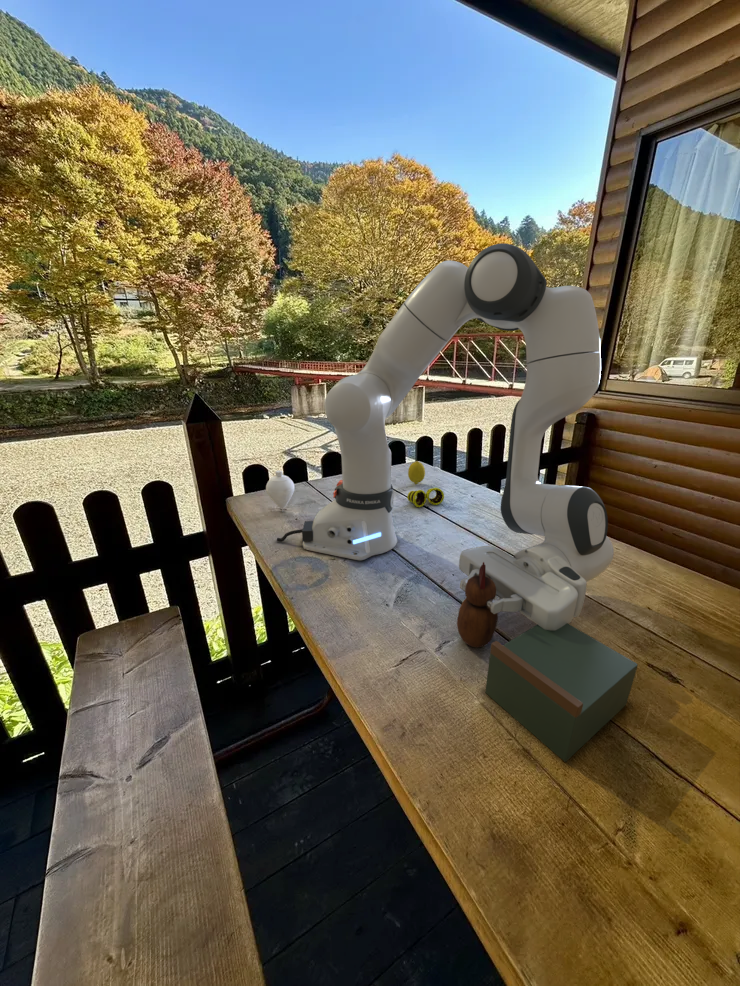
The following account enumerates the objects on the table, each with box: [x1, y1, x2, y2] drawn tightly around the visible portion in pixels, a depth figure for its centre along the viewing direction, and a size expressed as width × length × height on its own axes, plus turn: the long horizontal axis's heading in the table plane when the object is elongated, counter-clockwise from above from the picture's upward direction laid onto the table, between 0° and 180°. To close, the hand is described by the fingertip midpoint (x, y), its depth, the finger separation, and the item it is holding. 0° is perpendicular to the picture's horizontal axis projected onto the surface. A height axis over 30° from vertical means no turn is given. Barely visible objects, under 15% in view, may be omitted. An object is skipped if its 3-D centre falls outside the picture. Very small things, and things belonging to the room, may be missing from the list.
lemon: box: [407, 460, 426, 485], centre depth 134 cm, size 6×6×8 cm
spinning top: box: [265, 469, 295, 512], centre depth 113 cm, size 8×8×12 cm
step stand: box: [485, 623, 639, 763], centre depth 54 cm, size 12×14×9 cm
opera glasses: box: [407, 487, 445, 508], centre depth 119 cm, size 10×5×5 cm, turn 108°
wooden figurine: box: [456, 562, 499, 648], centre depth 64 cm, size 7×6×15 cm
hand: (475, 596), depth 63 cm, fingers closed on wooden figurine, 4 cm apart
